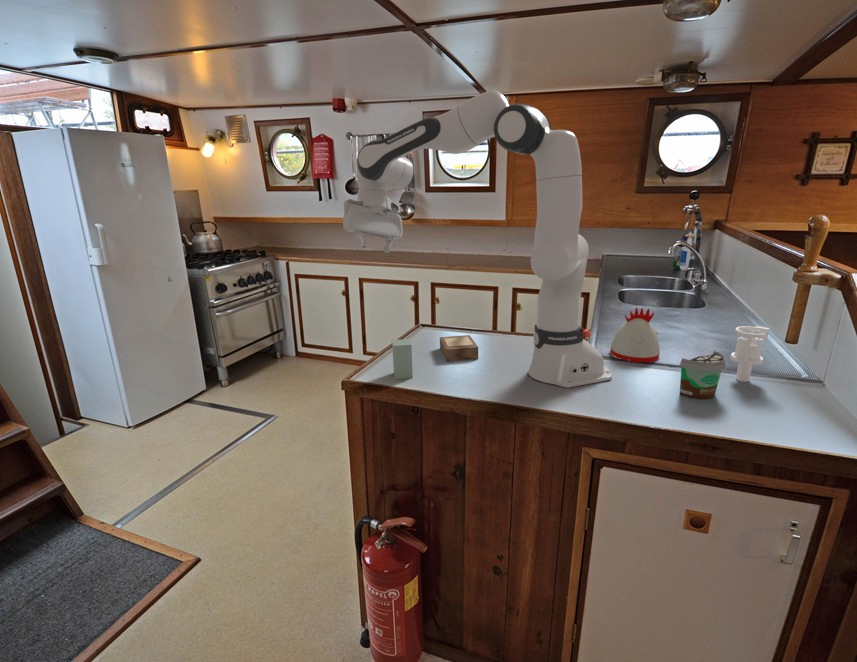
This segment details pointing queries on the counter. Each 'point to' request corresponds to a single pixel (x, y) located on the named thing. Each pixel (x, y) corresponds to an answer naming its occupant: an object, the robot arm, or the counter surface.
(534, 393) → the counter surface
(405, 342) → the pillar block
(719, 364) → the food container
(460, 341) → the build plinth
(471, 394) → the counter surface
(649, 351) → the kitchen timer
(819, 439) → the counter surface
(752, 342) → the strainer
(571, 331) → the robot arm
